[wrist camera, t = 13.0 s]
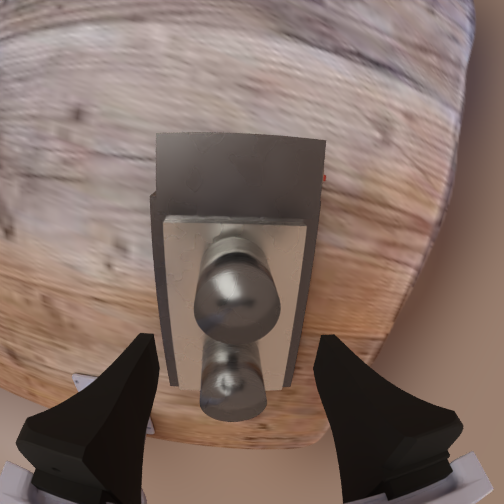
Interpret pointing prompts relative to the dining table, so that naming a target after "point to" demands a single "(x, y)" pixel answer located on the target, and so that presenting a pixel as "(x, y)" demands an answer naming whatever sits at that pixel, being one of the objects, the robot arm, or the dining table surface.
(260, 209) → the scale
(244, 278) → the ball
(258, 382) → the cylinder
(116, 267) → the dining table surface
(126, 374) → the robot arm
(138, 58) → the dining table surface
